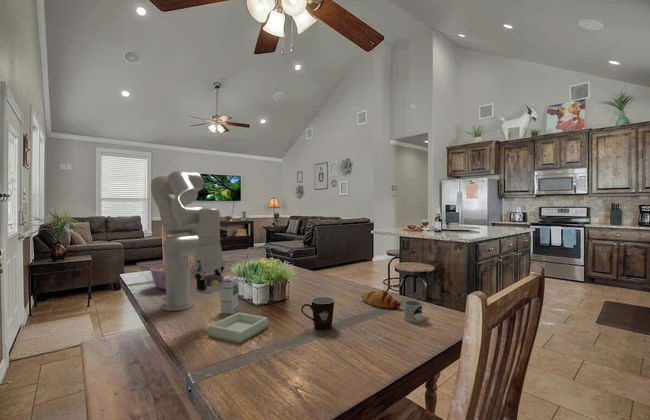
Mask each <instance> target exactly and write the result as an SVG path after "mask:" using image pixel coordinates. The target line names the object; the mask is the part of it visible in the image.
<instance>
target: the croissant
mask: <svg viewBox="0 0 650 420" xmlns="http://www.w3.org/2000/svg"><path fill="white" fill-rule="evenodd" d="M361 299H362V300H363V301H364V302H366V303H367V304H368V305H369V306H373V307H377V308H386V309H397V308H399V307H400V306H401V305H402V304H401V301H398V300H397V299H396V298H394V297H393V295H391V294H389V292H388V291H386V290H378V291H369V292H365V293H362V294H361Z"/></svg>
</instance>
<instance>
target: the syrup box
mask: <svg viewBox="0 0 650 420" xmlns="http://www.w3.org/2000/svg"><path fill="white" fill-rule="evenodd" d="M239 283H240V282H239V276H237V275H236V276H235V275H226V276H225V277H224V289H223V290H220V291H219V296H220V297H219V298H220V313H221V314H227V315H228V314H231V315H234V314H235V313H237V311H239V310H240V293H239V291H240V289H239V288H240V287H239V286H240V285H239Z"/></svg>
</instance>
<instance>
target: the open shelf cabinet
mask: <svg viewBox="0 0 650 420" xmlns="http://www.w3.org/2000/svg"><path fill="white" fill-rule="evenodd" d="M224 278H225V277H224V275H221V276H218V275H214V274H211V273H209V274H205V276H204V279H203V280H205V290H204V291H202V290H198V289H197V279H196V278H195V284H194V292H196V293H201V294H205V295H211V294H214V293H216V292H220V290H223V289H224ZM214 280H217V281H218V282H219V283H218V284H215V285H212V286H211V282H212V281H214Z"/></svg>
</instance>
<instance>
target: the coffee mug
mask: <svg viewBox="0 0 650 420" xmlns="http://www.w3.org/2000/svg"><path fill="white" fill-rule="evenodd" d="M305 307H309V308H310V309H311V311H312V317H311V316H309V315H308V314H307V313H305V312H304V308H305ZM334 307H335V299H334V298H333V297H330V296H317V297H313V298H311V304H308V303H305V304H303V305H302V306H301V313H302V314H303V315H304V316H305V317H307V318H308V319H310V320H312V321H313V325H314V329H315V330H318V331H328V330H330V329H332V327H333V318H334V311H335V310H334Z"/></svg>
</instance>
